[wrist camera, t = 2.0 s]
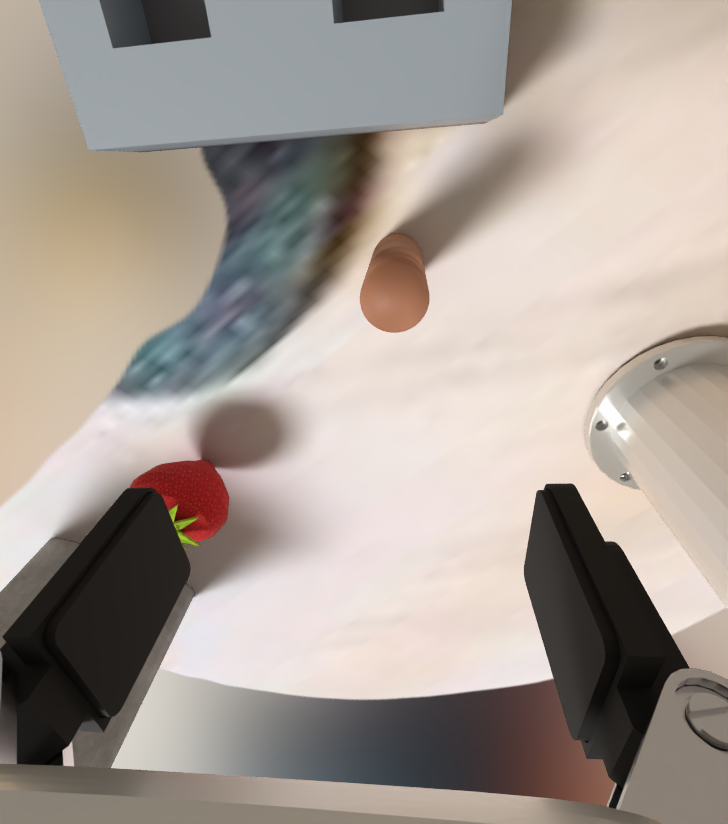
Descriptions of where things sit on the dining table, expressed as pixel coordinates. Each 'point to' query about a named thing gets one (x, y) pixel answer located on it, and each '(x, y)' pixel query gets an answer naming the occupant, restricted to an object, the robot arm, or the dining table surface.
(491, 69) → the hole block
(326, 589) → the dining table surface
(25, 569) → the hip flask
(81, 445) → the dining table surface
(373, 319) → the pin
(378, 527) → the dining table surface
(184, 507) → the strawberry
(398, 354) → the dining table surface
